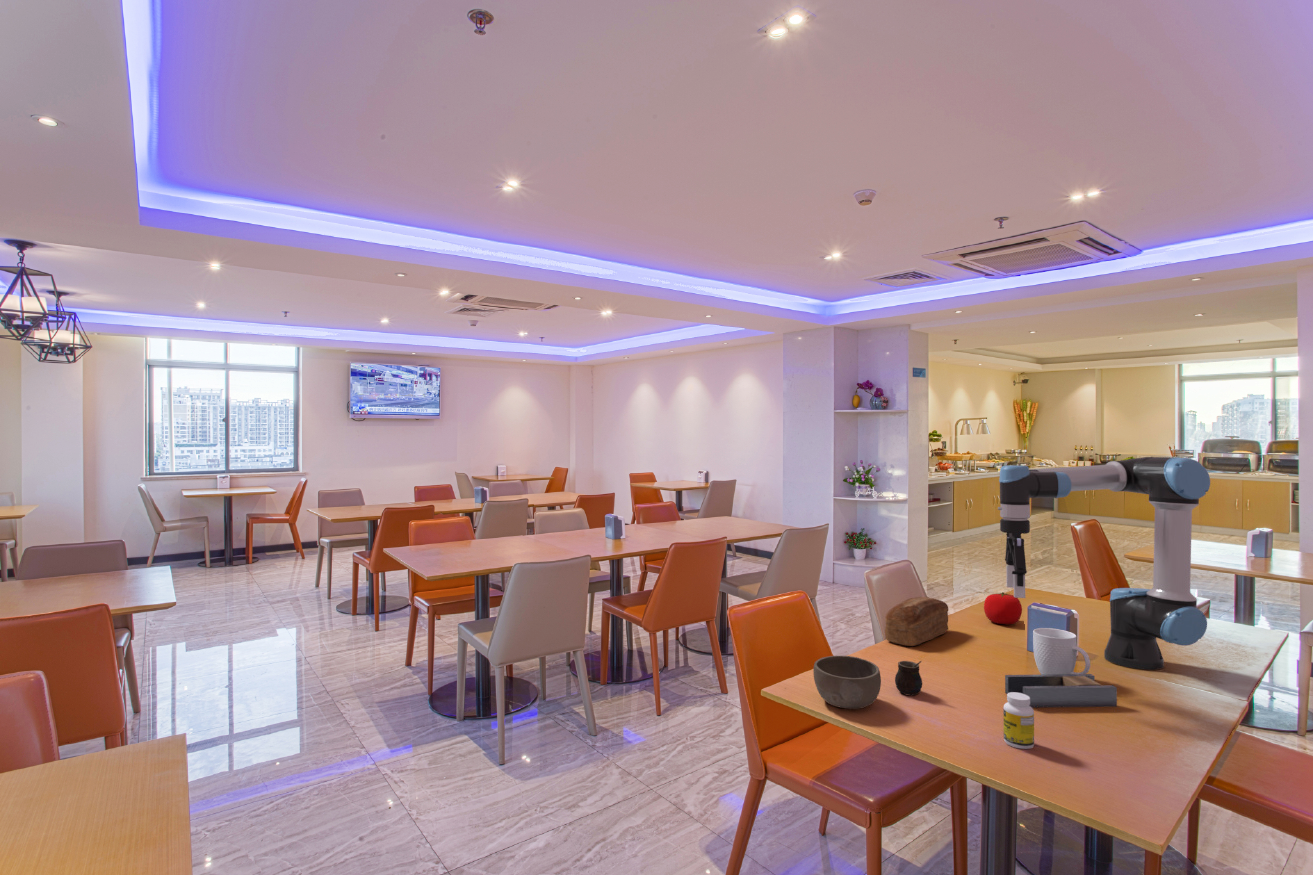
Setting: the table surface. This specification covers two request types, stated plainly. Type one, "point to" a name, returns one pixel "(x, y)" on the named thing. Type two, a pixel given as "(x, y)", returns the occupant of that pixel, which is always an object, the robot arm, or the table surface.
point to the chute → (1060, 691)
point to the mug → (1057, 651)
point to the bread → (916, 621)
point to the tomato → (1002, 608)
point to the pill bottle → (1018, 721)
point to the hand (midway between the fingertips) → (1015, 592)
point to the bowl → (847, 681)
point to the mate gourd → (908, 678)
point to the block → (1078, 681)
